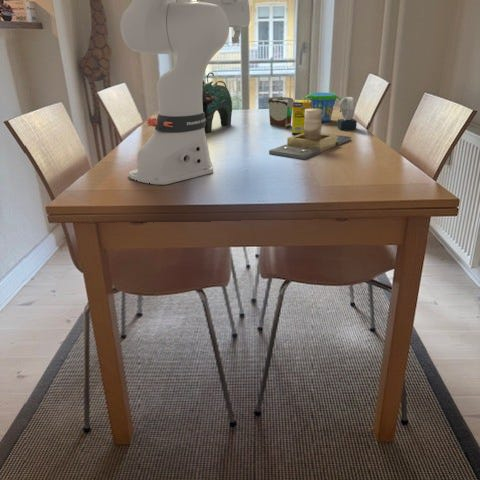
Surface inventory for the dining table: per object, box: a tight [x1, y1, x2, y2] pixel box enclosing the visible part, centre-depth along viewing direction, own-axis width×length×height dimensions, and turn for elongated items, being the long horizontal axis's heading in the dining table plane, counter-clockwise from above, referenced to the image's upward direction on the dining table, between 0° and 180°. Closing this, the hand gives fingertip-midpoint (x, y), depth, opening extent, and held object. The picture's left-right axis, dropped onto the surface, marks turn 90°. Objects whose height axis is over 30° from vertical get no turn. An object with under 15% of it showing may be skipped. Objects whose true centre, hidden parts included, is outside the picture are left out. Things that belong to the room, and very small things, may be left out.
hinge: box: [268, 132, 352, 160], centre depth 137 cm, size 29×12×3 cm, turn 142°
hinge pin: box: [304, 109, 322, 141], centre depth 135 cm, size 5×5×11 cm
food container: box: [267, 96, 295, 129], centre depth 167 cm, size 12×6×10 cm, turn 34°
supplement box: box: [291, 99, 311, 136], centre depth 153 cm, size 6×6×11 cm
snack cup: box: [302, 92, 342, 123], centre depth 174 cm, size 16×10×10 cm
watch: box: [337, 96, 358, 131], centre depth 159 cm, size 6×8×11 cm
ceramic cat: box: [202, 72, 233, 134], centre depth 163 cm, size 20×6×20 cm, turn 150°
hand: (225, 43), depth 134 cm, fingers open, 8 cm apart
